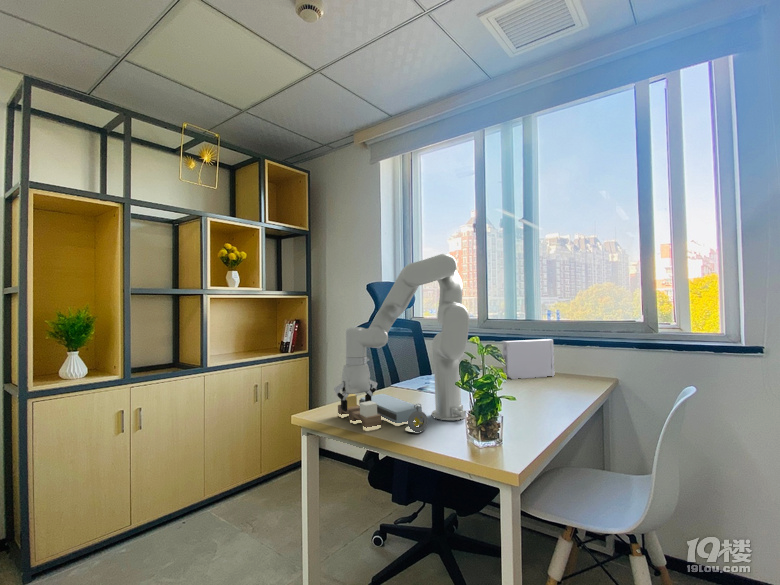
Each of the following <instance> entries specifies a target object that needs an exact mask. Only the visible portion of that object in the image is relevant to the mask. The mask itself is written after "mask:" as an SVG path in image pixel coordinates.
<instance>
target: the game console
mask: <svg viewBox="0 0 780 585" xmlns="http://www.w3.org/2000/svg"><path fill="white" fill-rule="evenodd" d="M554 350H555V349H554V339H552V338H547V339H546V338H544V339H543V338H542V339H525V340H524V339H523V340H502V358H503V357H504V359H505V362H506V366H504V365H503V364H502V365H503V373H504V372H505V373H506V375H507V376H506V375H505V376H506V377H507V378H509V379H511V380H518V378H521V379H533V378H534V379H536V378H548V377H547V376H552V377H555V376H554V375H555V353H554ZM535 377H536V378H535Z"/></svg>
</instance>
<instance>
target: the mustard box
mask: <svg viewBox="0 0 780 585" xmlns="http://www.w3.org/2000/svg"><path fill="white" fill-rule="evenodd" d="M346 400H347V408H348V407H353V406H357V405H358V404H357V402H358V399H357V395H356V394H349V395H348V397H347V398H346Z"/></svg>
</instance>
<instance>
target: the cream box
mask: <svg viewBox="0 0 780 585" xmlns="http://www.w3.org/2000/svg"><path fill="white" fill-rule="evenodd" d="M359 406H360V415H362V416H364V417H371V416H375V415H377V403H375V402H372V401H367V402H362V403H360V404H359Z"/></svg>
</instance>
